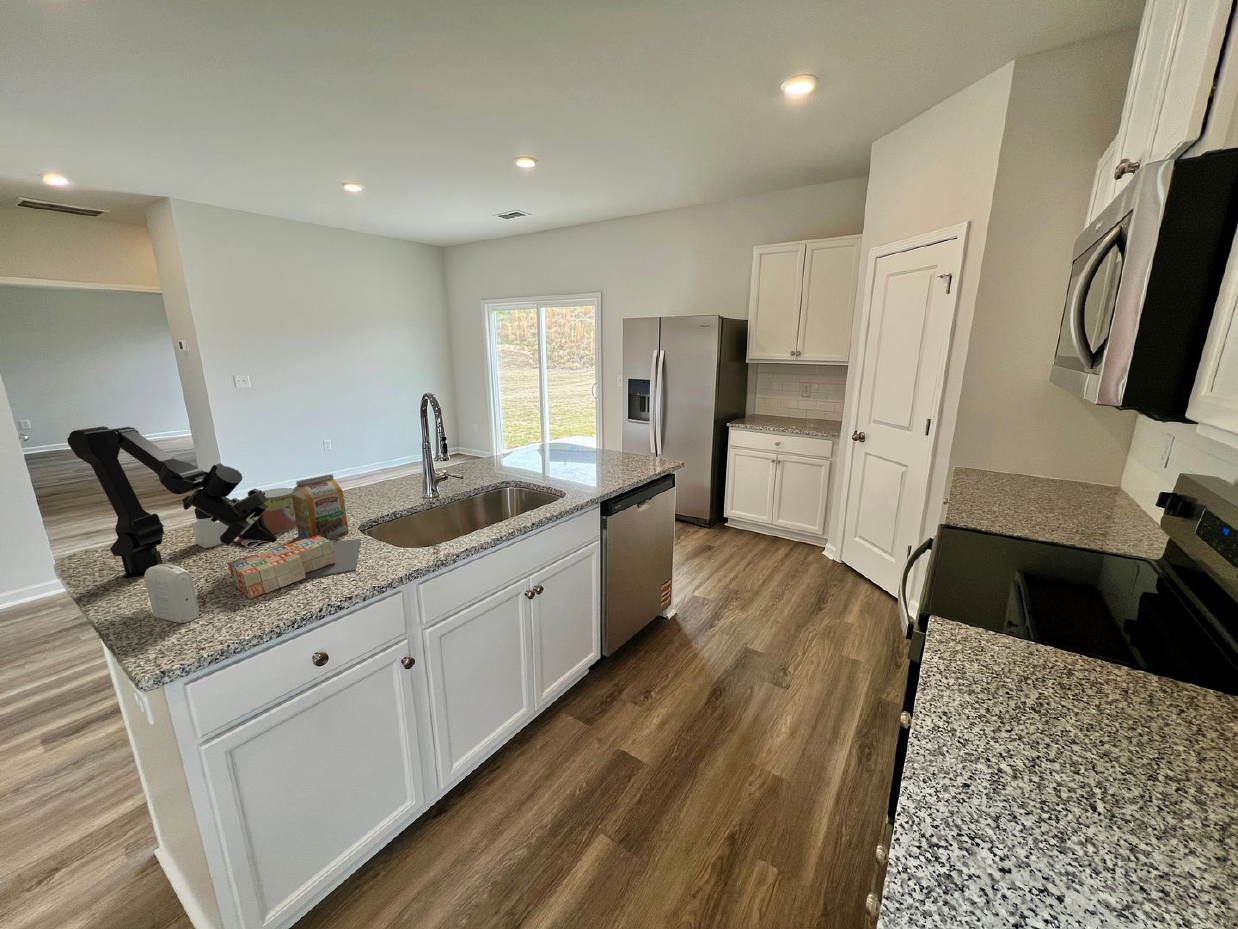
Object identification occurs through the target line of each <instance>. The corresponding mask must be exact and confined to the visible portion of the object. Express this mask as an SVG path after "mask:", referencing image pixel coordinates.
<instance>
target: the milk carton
mask: <svg viewBox="0 0 1238 929" xmlns="http://www.w3.org/2000/svg"><path fill="white" fill-rule="evenodd" d="M292 489H293V491H292V500H293V506H294V512H295V518H296V524H297V528H296V529H297V530H296V531H297V533H298V534H297V535H298V537H299V538H302V540H304V539H308V538H311V537H314V536H317V535H319V536H321V537H324V538H326V539H329V540H331V539H333V538H334V539H335V538H337V537H340V536H344V535H347V534H349V532H350V531H349V525H348V519H347V518H348V517H347V510H346V505H345V503H346V502H345V498H344V491H343V489H342V487H341V486H340V484H339V483H338V482H337V481H336V480H335V478H334V475H333V473H330V474H325V475H321V476H315V477H310V478H305V479H301V480H300V479H299V480H296V486H294V488H292Z"/></svg>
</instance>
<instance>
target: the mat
mask: <svg viewBox="0 0 1238 929" xmlns="http://www.w3.org/2000/svg"><path fill="white" fill-rule="evenodd" d="M333 546H334V551H335V554H336V559H337V562H334V563H332V564H329V565H326V566H324V567H322V568H319V569H316V570H312V571H310V572H307V573H305V576H306V578H303V579H301V580H300V581H302V580H308V579H315V578H319V577H320V578H321V577H326V576H333V575H339V574H344V573H345V574H346V573H349V572H350V573H351V572H355V571H357V569H358V568H357V567H358V559H359V553H360V548H361V547H360V546H361V538H354V539H348V540H341V541H333Z"/></svg>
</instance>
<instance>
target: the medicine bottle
mask: <svg viewBox="0 0 1238 929" xmlns="http://www.w3.org/2000/svg"><path fill="white" fill-rule="evenodd" d="M194 515H195V519H196V520H195V521H191V528H192V531H193V536H194V541H195V543H196V545H198V546H200V547H202V548H204V549H208V548H211V547H215V546H219V545H222V544H223V543H221V541H220V536H221V535H222V534H223V533H224V532H225V531H226V529H227V528H228V526H226V525H225V524H223V523H221V522H219V521H218V520H217V521H216V522H213V521H211V519H212V518H213V517H211V516H209V515H208V514H206V513H204V512H203V511H201V510H199V509H197V508H196V507H194ZM223 545H224V544H223Z"/></svg>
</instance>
